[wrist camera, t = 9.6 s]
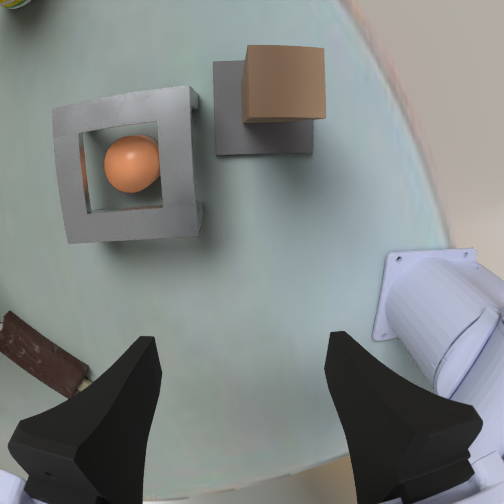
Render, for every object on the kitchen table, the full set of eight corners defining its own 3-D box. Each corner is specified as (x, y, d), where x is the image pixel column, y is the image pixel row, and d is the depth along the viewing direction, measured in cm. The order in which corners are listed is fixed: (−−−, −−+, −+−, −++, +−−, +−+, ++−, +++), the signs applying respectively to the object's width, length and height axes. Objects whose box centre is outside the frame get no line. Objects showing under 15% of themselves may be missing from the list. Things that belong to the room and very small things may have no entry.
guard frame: (198, 93, 18) (189, 85, 14) (203, 216, 21) (197, 236, 17) (81, 110, 17) (52, 109, 14) (93, 224, 20) (68, 243, 17)
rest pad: (309, 63, 17) (310, 62, 17) (311, 153, 20) (312, 153, 19) (213, 63, 17) (213, 61, 17) (216, 154, 19) (215, 155, 19)
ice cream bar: (134, 388, 27) (5, 303, 23) (130, 400, 25) (-4, 312, 21) (115, 412, 28) (-1, 336, 24) (112, 423, 27) (-9, 345, 23)
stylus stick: (284, 82, 17) (323, 48, 9) (285, 122, 18) (325, 118, 10) (241, 82, 17) (247, 45, 9) (242, 123, 18) (249, 117, 10)
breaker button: (163, 132, 18) (155, 132, 17) (166, 184, 20) (159, 190, 18) (113, 138, 18) (101, 140, 16) (118, 188, 20) (107, 195, 18)
